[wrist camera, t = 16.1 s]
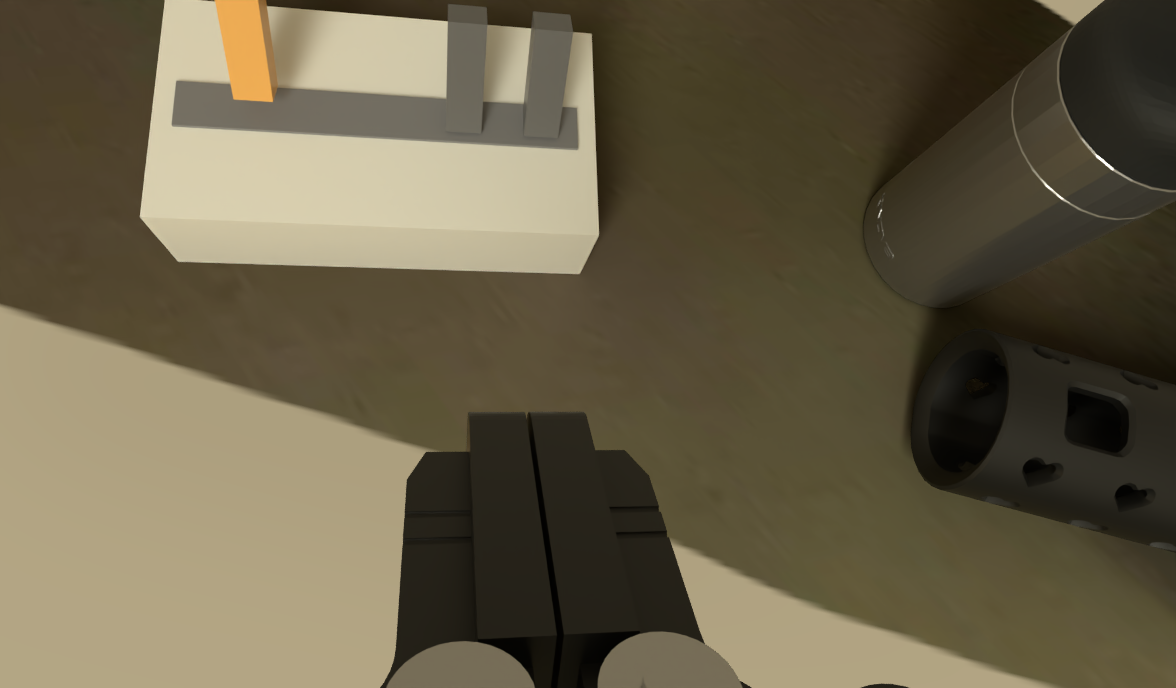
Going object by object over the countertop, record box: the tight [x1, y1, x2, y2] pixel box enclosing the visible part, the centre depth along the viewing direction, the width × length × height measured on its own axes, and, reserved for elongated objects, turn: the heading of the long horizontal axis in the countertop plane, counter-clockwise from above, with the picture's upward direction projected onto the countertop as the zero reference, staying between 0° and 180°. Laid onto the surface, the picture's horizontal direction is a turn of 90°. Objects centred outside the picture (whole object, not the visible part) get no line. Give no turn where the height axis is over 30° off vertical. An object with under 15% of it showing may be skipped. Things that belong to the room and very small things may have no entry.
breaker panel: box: [140, 0, 599, 274], centre depth 42 cm, size 22×12×12 cm, turn 92°
